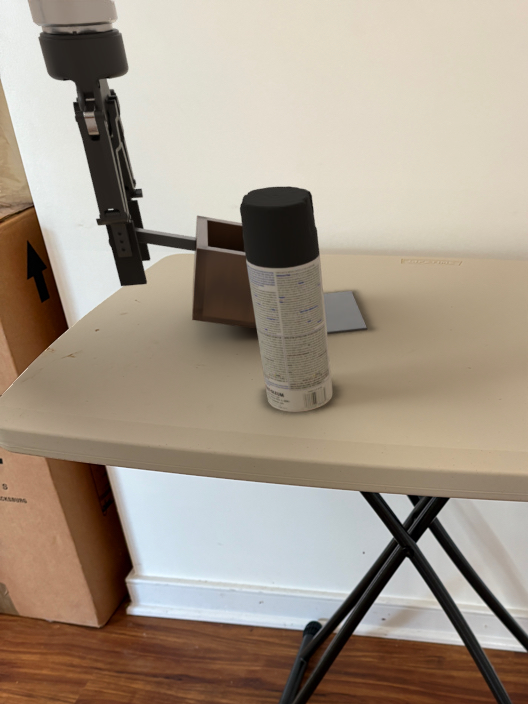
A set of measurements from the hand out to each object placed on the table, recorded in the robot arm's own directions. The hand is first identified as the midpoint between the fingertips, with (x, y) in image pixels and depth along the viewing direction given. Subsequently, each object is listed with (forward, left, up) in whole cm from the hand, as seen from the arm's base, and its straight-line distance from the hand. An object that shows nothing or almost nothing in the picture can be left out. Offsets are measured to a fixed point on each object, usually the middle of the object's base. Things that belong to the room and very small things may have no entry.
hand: (136, 271), depth 86 cm
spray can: (+26, +1, -8) cm, 27 cm away
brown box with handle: (+10, +15, -3) cm, 18 cm away
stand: (+12, +17, -8) cm, 23 cm away
